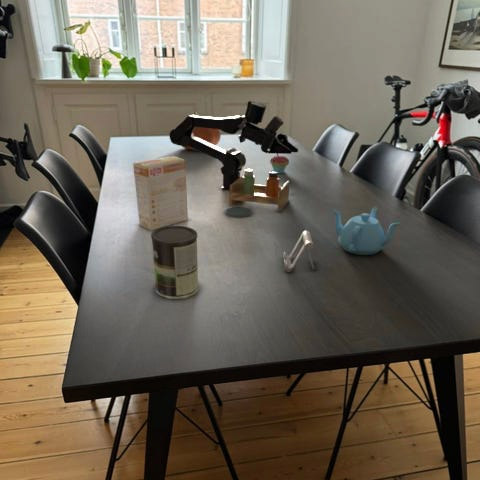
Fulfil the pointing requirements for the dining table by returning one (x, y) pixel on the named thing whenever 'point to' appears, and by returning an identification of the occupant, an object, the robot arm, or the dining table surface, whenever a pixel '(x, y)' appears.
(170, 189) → the coffeecake box
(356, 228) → the teapot
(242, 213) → the coaster
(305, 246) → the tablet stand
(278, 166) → the cupcake
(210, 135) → the pumpkin
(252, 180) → the green bottle
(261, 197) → the spice rack
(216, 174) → the dining table surface
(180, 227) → the coffee can
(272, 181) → the amber bottle
